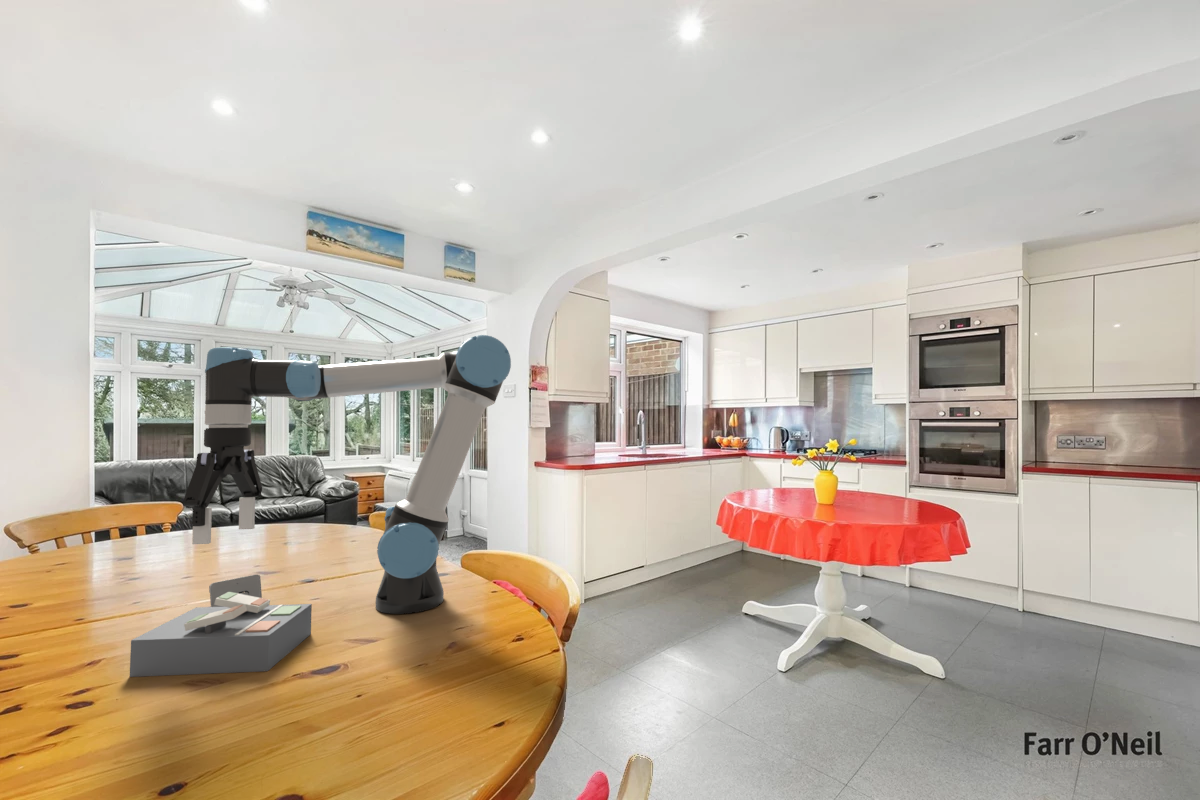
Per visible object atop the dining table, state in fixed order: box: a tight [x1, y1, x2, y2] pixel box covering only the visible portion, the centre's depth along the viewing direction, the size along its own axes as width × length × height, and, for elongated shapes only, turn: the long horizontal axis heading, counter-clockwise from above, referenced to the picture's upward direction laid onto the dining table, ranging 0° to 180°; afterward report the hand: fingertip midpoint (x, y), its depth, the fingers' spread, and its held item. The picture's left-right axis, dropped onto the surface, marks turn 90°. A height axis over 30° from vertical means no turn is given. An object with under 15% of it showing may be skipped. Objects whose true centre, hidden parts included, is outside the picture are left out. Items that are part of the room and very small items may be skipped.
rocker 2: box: [214, 592, 271, 613], centre depth 101 cm, size 8×4×1 cm, turn 95°
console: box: [129, 603, 313, 678], centre depth 96 cm, size 22×16×7 cm
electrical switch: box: [208, 573, 263, 607], centre depth 113 cm, size 9×5×9 cm, turn 141°
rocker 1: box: [184, 604, 247, 631], centre depth 93 cm, size 8×4×1 cm, turn 96°
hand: (225, 536), depth 101 cm, fingers open, 13 cm apart
